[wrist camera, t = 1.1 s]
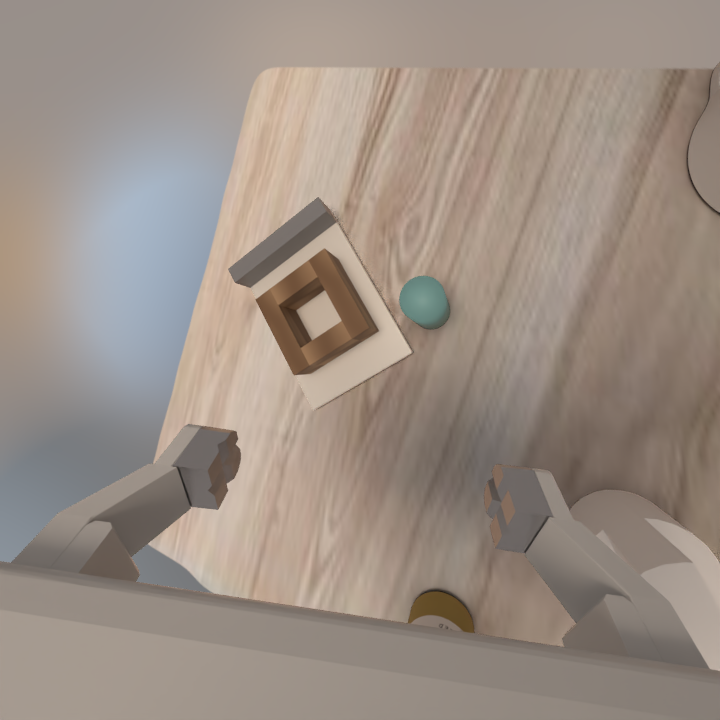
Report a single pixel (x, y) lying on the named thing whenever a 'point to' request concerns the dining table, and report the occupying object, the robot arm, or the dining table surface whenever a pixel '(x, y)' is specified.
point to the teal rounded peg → (425, 302)
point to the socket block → (300, 290)
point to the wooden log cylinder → (440, 612)
